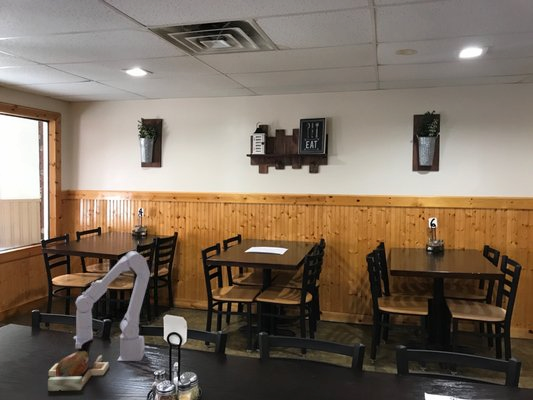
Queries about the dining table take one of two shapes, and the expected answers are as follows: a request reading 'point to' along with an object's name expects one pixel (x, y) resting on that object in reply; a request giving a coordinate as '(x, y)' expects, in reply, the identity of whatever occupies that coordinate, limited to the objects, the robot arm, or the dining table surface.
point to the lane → (70, 380)
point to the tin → (73, 364)
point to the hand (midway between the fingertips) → (84, 359)
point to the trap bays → (99, 370)
